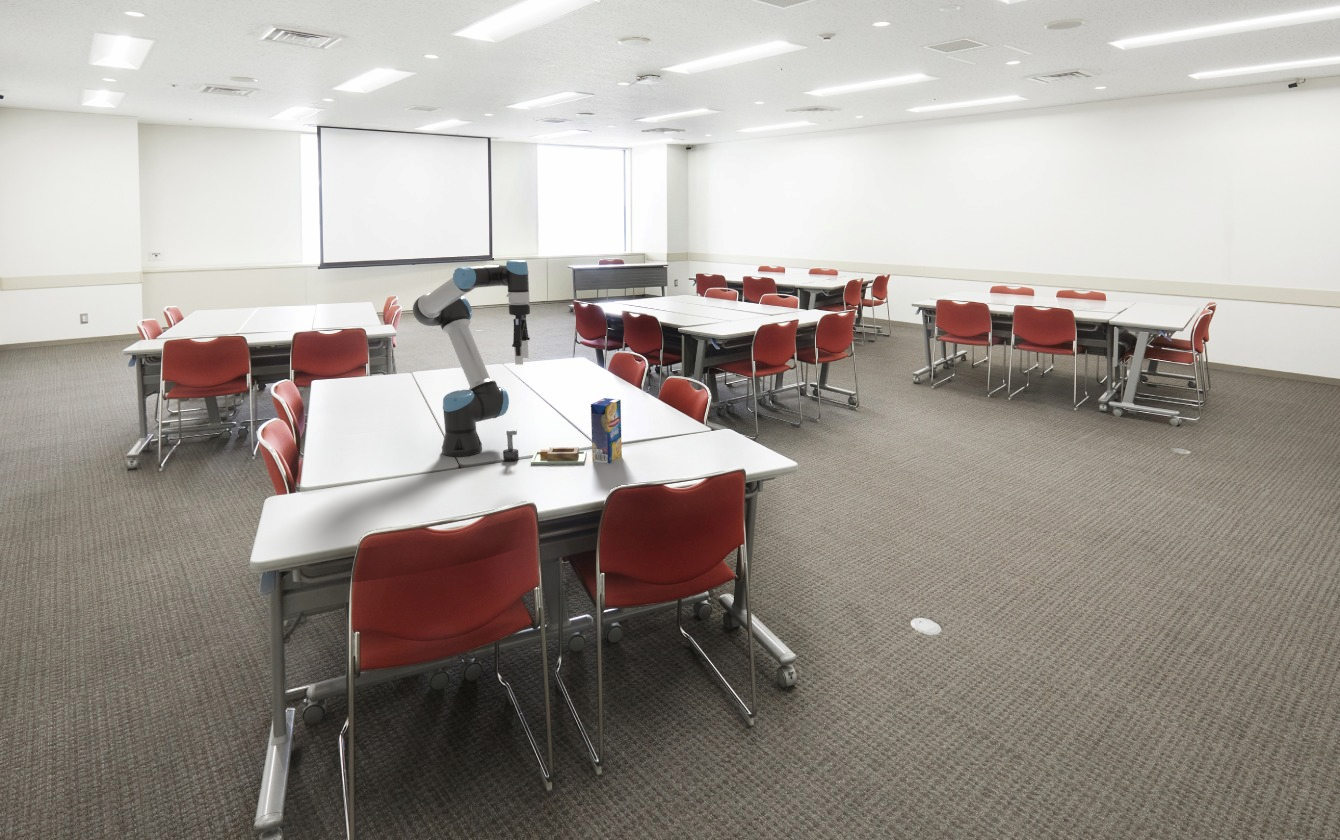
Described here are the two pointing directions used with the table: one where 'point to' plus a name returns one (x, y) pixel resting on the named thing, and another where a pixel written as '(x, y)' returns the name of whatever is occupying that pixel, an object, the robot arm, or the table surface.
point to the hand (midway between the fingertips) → (522, 361)
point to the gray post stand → (510, 448)
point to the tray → (538, 461)
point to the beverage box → (606, 430)
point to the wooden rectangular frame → (560, 454)
